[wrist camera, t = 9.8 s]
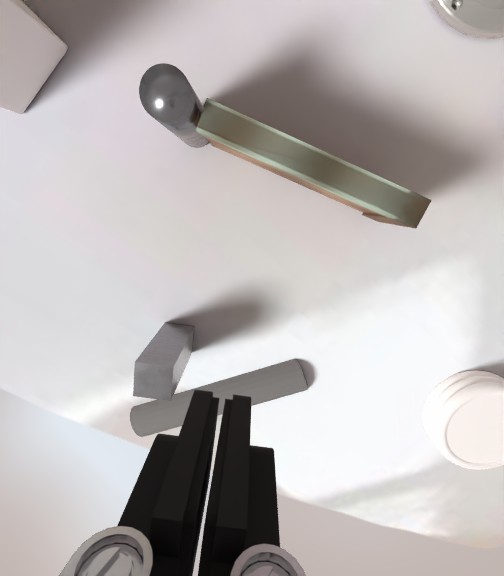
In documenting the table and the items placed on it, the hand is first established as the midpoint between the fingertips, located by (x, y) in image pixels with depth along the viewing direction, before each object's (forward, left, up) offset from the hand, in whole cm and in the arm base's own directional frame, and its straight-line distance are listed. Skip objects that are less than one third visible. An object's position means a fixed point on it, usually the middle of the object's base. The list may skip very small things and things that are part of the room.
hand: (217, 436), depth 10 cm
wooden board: (-4, -9, -22) cm, 24 cm away
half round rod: (+1, +15, -24) cm, 28 cm away
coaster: (-26, +12, -24) cm, 37 cm away
